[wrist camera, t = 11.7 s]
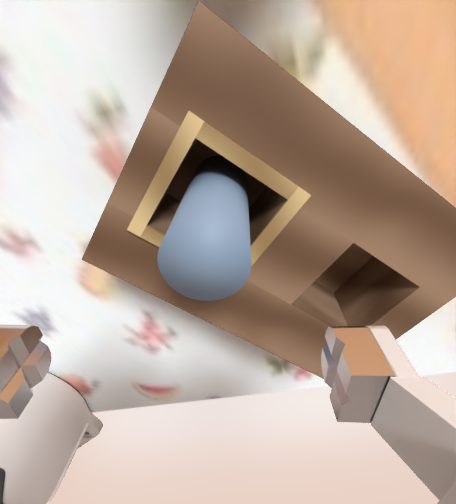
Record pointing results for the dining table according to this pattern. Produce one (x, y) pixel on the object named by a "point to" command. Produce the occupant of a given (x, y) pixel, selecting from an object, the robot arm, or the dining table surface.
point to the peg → (209, 234)
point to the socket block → (279, 203)
